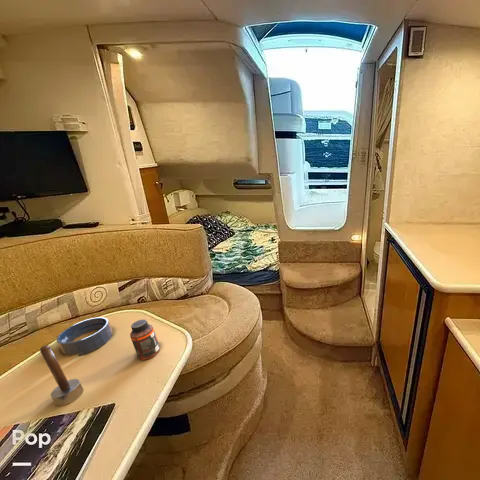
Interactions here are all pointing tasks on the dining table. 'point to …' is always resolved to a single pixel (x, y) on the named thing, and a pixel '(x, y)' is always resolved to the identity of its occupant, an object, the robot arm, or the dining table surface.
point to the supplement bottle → (144, 339)
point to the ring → (88, 342)
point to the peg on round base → (61, 380)
